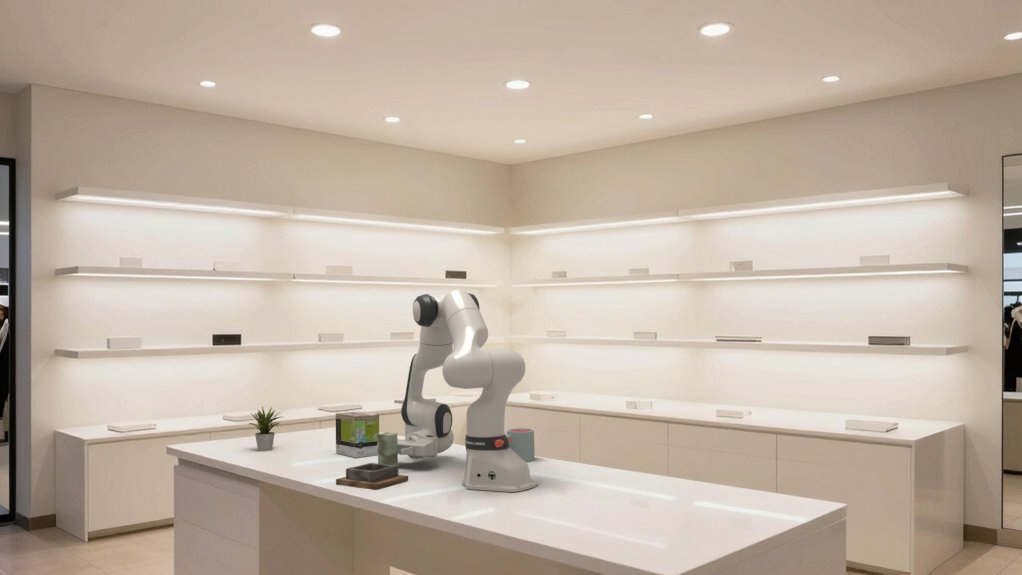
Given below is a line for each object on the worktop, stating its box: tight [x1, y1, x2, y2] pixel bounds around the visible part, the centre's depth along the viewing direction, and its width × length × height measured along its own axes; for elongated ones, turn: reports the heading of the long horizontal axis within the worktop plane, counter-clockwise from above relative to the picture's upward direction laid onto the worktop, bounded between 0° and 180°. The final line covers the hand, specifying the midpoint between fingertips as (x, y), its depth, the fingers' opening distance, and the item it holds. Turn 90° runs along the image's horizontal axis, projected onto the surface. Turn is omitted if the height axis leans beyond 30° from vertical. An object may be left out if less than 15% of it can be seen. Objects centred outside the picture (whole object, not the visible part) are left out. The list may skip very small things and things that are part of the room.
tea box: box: [335, 411, 380, 459], centre depth 300 cm, size 15×10×15 cm, turn 40°
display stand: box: [335, 462, 409, 491], centre depth 249 cm, size 16×14×4 cm
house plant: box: [248, 406, 285, 452], centre depth 312 cm, size 14×14×16 cm
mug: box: [505, 427, 536, 463], centre depth 281 cm, size 14×9×10 cm
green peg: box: [377, 432, 399, 467], centre depth 266 cm, size 4×4×12 cm
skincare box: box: [404, 422, 422, 439], centre depth 311 cm, size 6×4×12 cm
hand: (389, 451), depth 266 cm, fingers open, 8 cm apart
